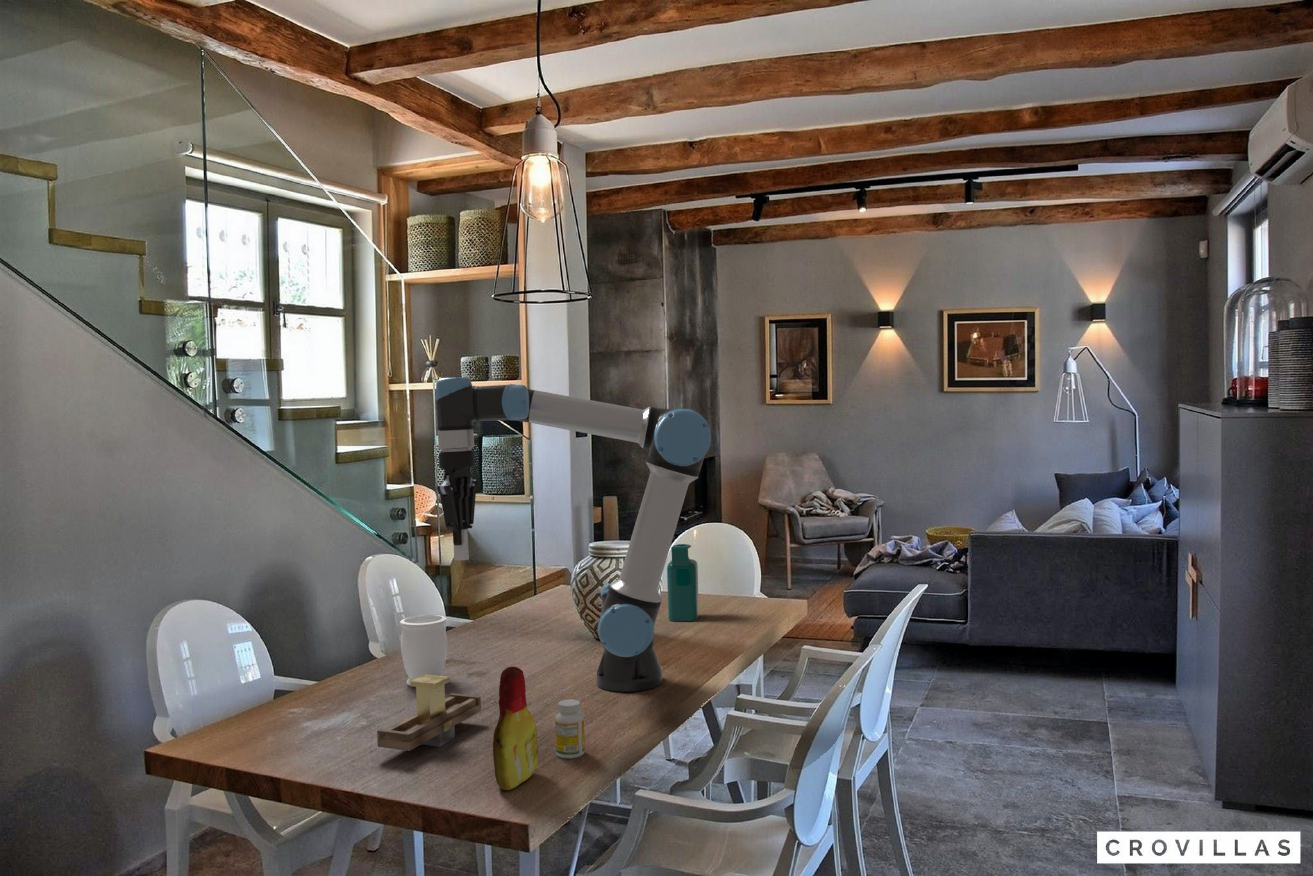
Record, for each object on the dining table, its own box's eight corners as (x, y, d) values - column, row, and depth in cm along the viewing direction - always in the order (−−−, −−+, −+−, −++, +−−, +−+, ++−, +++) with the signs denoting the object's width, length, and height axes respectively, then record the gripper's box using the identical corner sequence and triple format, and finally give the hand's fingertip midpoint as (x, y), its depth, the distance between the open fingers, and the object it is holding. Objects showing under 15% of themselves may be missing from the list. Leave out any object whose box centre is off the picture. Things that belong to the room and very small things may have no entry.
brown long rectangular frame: (451, 719, 206) (450, 693, 206) (482, 723, 203) (481, 696, 203) (377, 759, 184) (376, 730, 184) (410, 764, 181) (409, 734, 181)
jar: (456, 678, 237) (454, 615, 236) (433, 690, 227) (430, 625, 226) (418, 675, 240) (415, 613, 239) (393, 687, 230) (390, 623, 230)
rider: (427, 714, 197) (425, 674, 196) (451, 717, 194) (449, 676, 194) (411, 722, 192) (410, 681, 192) (436, 725, 190) (434, 683, 190)
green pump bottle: (671, 615, 298) (669, 541, 297) (699, 615, 296) (697, 541, 295) (667, 622, 288) (665, 547, 287) (696, 622, 287) (694, 546, 286)
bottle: (516, 797, 165) (512, 677, 164) (482, 793, 167) (477, 675, 166) (546, 770, 176) (542, 658, 175) (513, 767, 178) (509, 656, 177)
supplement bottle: (570, 761, 180) (568, 709, 180) (549, 755, 184) (548, 703, 183) (591, 752, 185) (589, 701, 184) (570, 746, 188) (569, 696, 188)
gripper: (457, 448, 220) (462, 554, 221) (424, 452, 208) (429, 564, 209) (487, 447, 218) (492, 555, 219) (455, 451, 205) (460, 565, 206)
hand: (461, 559), depth 214 cm, fingers closed
